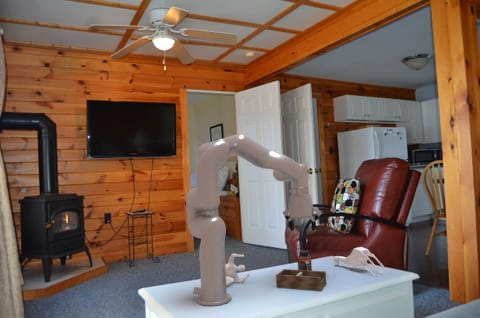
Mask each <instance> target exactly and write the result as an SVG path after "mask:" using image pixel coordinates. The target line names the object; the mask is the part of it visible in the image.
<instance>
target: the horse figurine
mask: <svg viewBox="0 0 480 318" xmlns="http://www.w3.org/2000/svg"><path fill="white" fill-rule="evenodd" d="M370 257H371V258H373V259H375V260H376V262H377V263H378V264H379V265H380V267H381V268H382V269H384V266H385V265H383V263H382V262H381V261H380V260H379V259H378V258H377V257H376V256H375V254H374V253H371V251H370V249H368V248H365V247H362V246H360V247H359V246H358V247H355V248H353V249H352V251H351V252H350V254H349V255H347V257H346V256H339V255H337V256H333V257H332V261H333V264H334V266H335V267H338V266H340V262H341V263H343V264H344V265H350V266H352V267H353V268H355V269H357V268H362V269H363V270H365V271H367V272H369V273H370V274H372V275H373V277H374V276H375V277H376V273H374V271H372V270H370V269H369V268H371V269H373V270H375V271H376V272H378V273H379V275H380V274H381V275H382V274H383V272H382V271H381V270H379V269H378V267H377V266H376V264H375V263H374V262H373V261H372V260H371V258H370ZM368 261H369V262H370V263H368ZM366 266H368V267H369V268H367V267H366Z"/></svg>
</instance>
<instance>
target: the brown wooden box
mask: <svg viewBox="0 0 480 318" xmlns="http://www.w3.org/2000/svg"><path fill="white" fill-rule="evenodd" d="M300 272H302V274H303V276H296V275H297V274H298V273H300ZM275 281H276V289H287V290H288V289H290V290H301V291H302V290H303V291H315V292H322V291H323V290H324V289H325V286H326V285H327V272H326V271H324V270H323V271H321V270H312V271H308V270H298V269H287V268H286V269H285V268H284V269H282V270H281V271H279V272H278V273H276V275H275Z"/></svg>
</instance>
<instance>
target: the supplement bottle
mask: <svg viewBox="0 0 480 318" xmlns="http://www.w3.org/2000/svg"><path fill="white" fill-rule="evenodd" d="M298 252H299V255H298V256H297V270H308V271H313V269H312V268H313V267H312V257H311V256H310V255H309V250H299V251H298Z"/></svg>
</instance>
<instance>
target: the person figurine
mask: <svg viewBox="0 0 480 318" xmlns="http://www.w3.org/2000/svg"><path fill="white" fill-rule="evenodd" d="M239 257H240V258H244V257H245V254H238V253H232V254H230V257H229V258H228V262H227V263H225V266H226V286H227V287H229V286H230V285H231V284H233V283H234V282H236V283H239V284H240V283H241V284H243V283H244V282H245V281H246V279H248V278H249V277H250V275H251V274H250V273H249V272H248V273H247V274H246V276H244V277H243V278H241V279H240V277H239V276H238V273H237V271H238V272H242V271H245V269H246V266H245V265H244V264H239V265H238V266H237V265H236V264H235V260H234V259H235V258H239Z"/></svg>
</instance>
